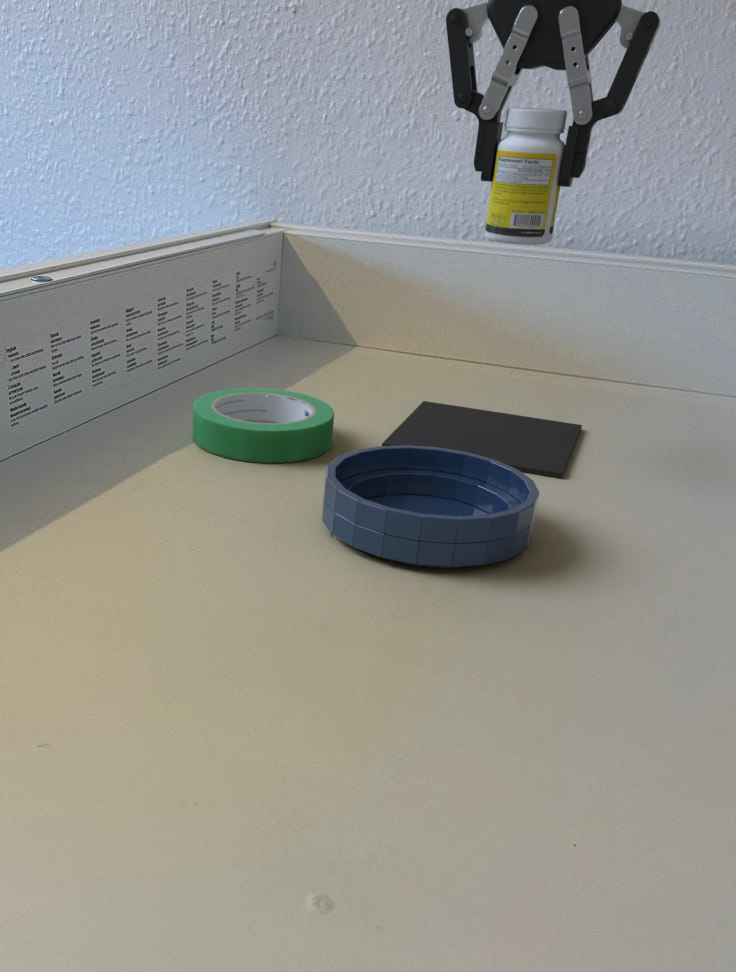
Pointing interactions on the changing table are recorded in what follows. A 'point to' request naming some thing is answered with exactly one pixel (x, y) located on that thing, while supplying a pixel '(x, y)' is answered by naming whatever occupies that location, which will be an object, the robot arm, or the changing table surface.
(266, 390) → the tape roll
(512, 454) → the mat
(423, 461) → the dish
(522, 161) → the supplement bottle
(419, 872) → the changing table surface
